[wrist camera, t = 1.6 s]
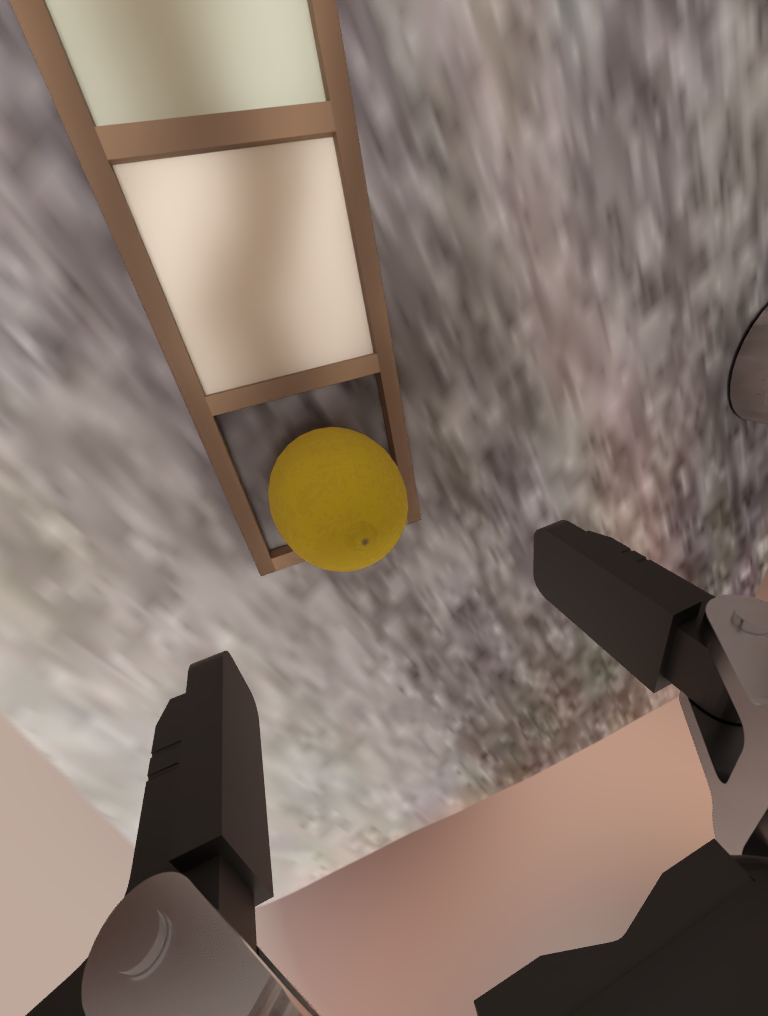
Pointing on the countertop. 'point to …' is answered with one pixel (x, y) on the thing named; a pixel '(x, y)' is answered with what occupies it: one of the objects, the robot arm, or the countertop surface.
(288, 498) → the lemon
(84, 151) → the board
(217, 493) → the countertop surface
